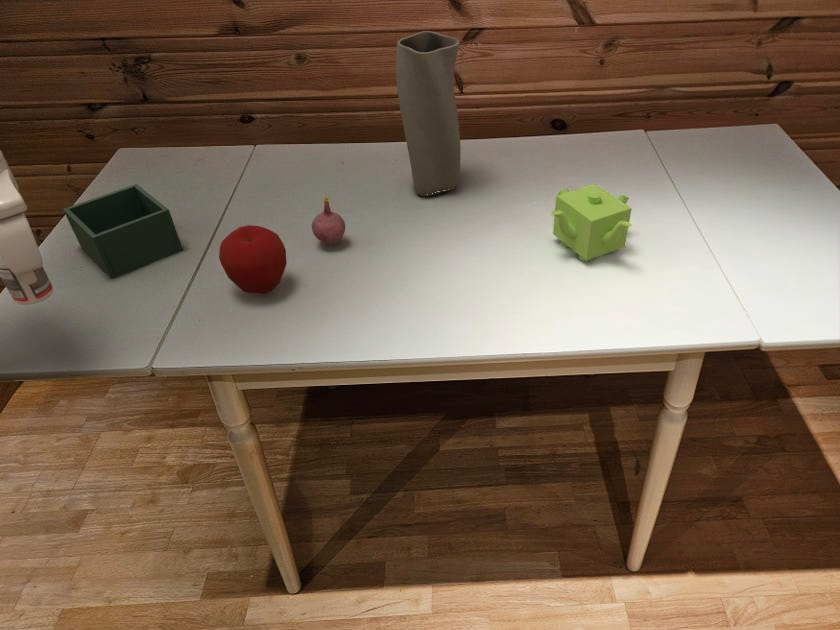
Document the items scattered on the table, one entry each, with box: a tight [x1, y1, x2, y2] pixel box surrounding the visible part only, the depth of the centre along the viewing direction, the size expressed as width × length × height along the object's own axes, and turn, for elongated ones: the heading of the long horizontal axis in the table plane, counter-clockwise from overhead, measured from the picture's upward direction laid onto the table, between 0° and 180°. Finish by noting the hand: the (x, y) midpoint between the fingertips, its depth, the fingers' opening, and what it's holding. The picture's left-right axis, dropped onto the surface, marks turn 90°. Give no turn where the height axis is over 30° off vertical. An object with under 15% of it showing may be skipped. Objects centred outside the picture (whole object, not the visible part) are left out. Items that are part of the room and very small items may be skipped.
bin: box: [62, 183, 184, 280], centre depth 121 cm, size 14×14×9 cm
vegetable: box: [311, 195, 346, 245], centre depth 122 cm, size 6×6×10 cm
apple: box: [218, 224, 287, 295], centre depth 111 cm, size 11×11×12 cm
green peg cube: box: [550, 183, 632, 262], centre depth 122 cm, size 15×14×11 cm
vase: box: [395, 30, 462, 197], centre depth 132 cm, size 12×12×30 cm
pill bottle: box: [0, 257, 54, 306], centre depth 94 cm, size 5×5×10 cm
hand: (21, 272), depth 95 cm, fingers closed on pill bottle, 5 cm apart
